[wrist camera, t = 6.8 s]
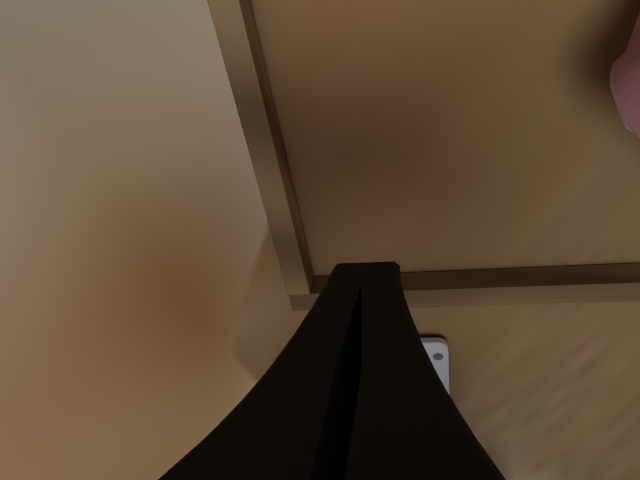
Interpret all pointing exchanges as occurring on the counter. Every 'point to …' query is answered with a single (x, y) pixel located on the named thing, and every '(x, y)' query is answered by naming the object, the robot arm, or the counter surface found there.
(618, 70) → the video game controller
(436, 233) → the counter surface
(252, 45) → the shallow wooden tray
